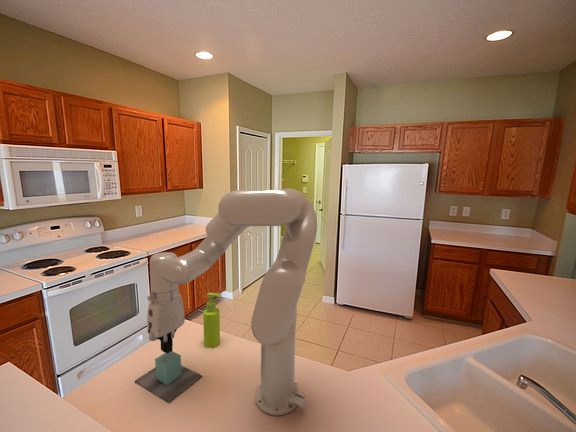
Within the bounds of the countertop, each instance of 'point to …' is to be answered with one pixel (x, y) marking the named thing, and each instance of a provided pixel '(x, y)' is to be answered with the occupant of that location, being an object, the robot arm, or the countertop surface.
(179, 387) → the grey base plate
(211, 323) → the soap dispenser
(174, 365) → the teal cuboid
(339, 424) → the countertop surface
